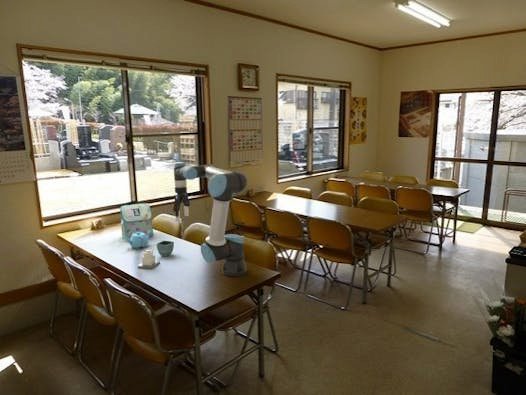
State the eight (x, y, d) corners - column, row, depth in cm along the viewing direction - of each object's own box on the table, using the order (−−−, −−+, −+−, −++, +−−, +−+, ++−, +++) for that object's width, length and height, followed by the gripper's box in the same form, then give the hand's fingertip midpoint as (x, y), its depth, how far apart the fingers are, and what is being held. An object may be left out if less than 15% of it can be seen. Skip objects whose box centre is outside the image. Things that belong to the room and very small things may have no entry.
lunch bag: (124, 241, 297) (121, 207, 291) (120, 236, 310) (117, 203, 305) (154, 237, 308) (152, 204, 302) (149, 232, 322) (147, 200, 316)
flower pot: (164, 252, 272) (163, 240, 270) (175, 253, 269) (174, 241, 268) (156, 256, 264) (155, 244, 262) (167, 258, 261) (167, 245, 259)
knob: (155, 262, 250) (154, 249, 248) (150, 265, 244) (149, 252, 242) (147, 261, 251) (146, 249, 249) (142, 264, 245) (141, 252, 244)
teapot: (135, 243, 293) (133, 228, 291) (152, 243, 291) (151, 229, 289) (125, 250, 278) (124, 235, 276) (143, 250, 276) (142, 235, 274)
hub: (159, 263, 252) (159, 254, 250) (152, 269, 242) (151, 260, 241) (145, 262, 254) (145, 253, 253) (137, 267, 244) (137, 258, 243)
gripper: (183, 183, 259) (184, 213, 263) (166, 189, 235) (168, 223, 239) (193, 183, 257) (195, 214, 262) (177, 190, 233) (179, 223, 238)
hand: (182, 218), depth 251 cm, fingers open, 13 cm apart
